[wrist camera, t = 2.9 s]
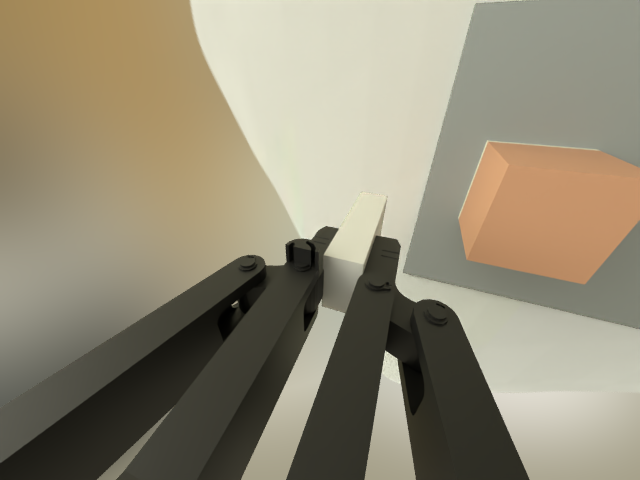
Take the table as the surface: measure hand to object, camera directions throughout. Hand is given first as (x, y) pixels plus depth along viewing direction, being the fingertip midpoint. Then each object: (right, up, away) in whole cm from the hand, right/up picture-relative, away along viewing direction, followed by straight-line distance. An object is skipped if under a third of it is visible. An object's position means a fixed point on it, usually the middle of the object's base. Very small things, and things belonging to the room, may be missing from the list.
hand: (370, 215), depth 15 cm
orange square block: (+11, +2, +3) cm, 12 cm away
